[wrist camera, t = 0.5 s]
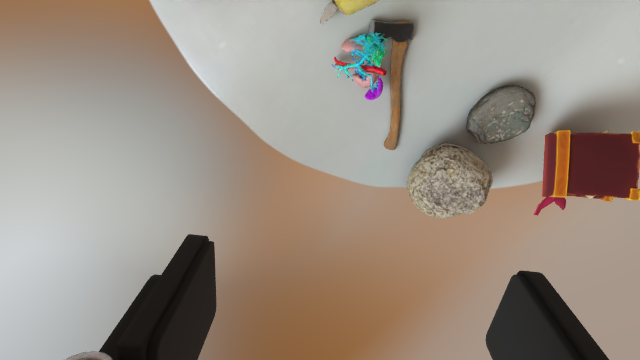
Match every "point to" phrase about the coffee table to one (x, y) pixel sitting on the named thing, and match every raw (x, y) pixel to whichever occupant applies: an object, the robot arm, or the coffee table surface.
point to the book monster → (590, 166)
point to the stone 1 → (449, 181)
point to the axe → (394, 67)
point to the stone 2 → (501, 114)
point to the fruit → (345, 7)
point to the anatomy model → (364, 52)
